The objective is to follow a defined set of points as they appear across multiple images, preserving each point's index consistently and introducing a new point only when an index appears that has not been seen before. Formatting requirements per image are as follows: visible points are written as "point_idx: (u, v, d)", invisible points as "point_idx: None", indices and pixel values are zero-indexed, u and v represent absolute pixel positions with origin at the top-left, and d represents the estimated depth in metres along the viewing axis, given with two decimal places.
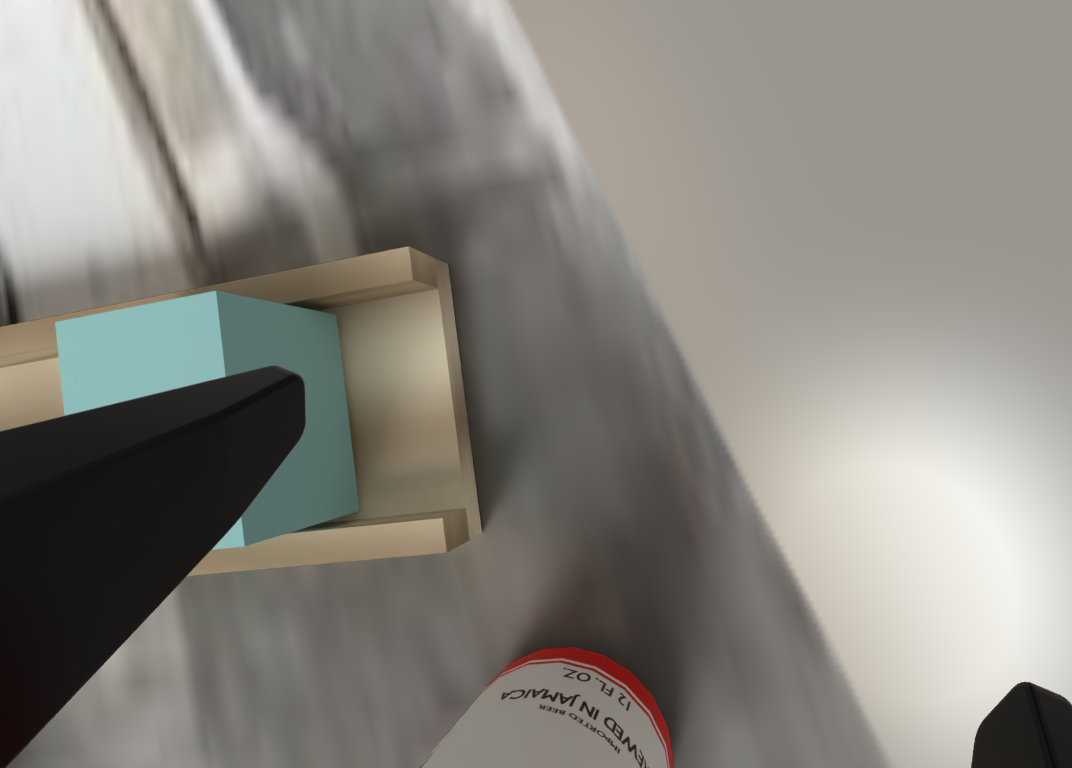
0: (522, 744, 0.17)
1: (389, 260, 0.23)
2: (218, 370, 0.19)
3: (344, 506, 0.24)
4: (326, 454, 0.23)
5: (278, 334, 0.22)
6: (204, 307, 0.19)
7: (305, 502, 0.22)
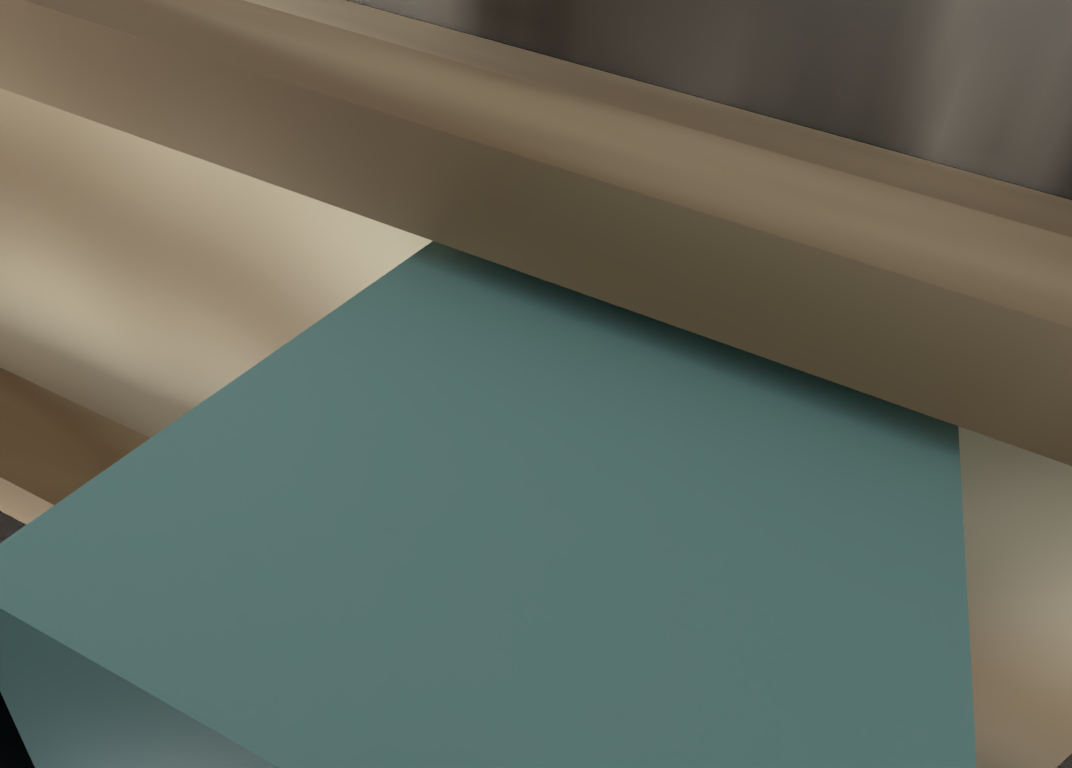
0: None
1: None
2: None
3: None
4: None
5: None
6: None
7: None
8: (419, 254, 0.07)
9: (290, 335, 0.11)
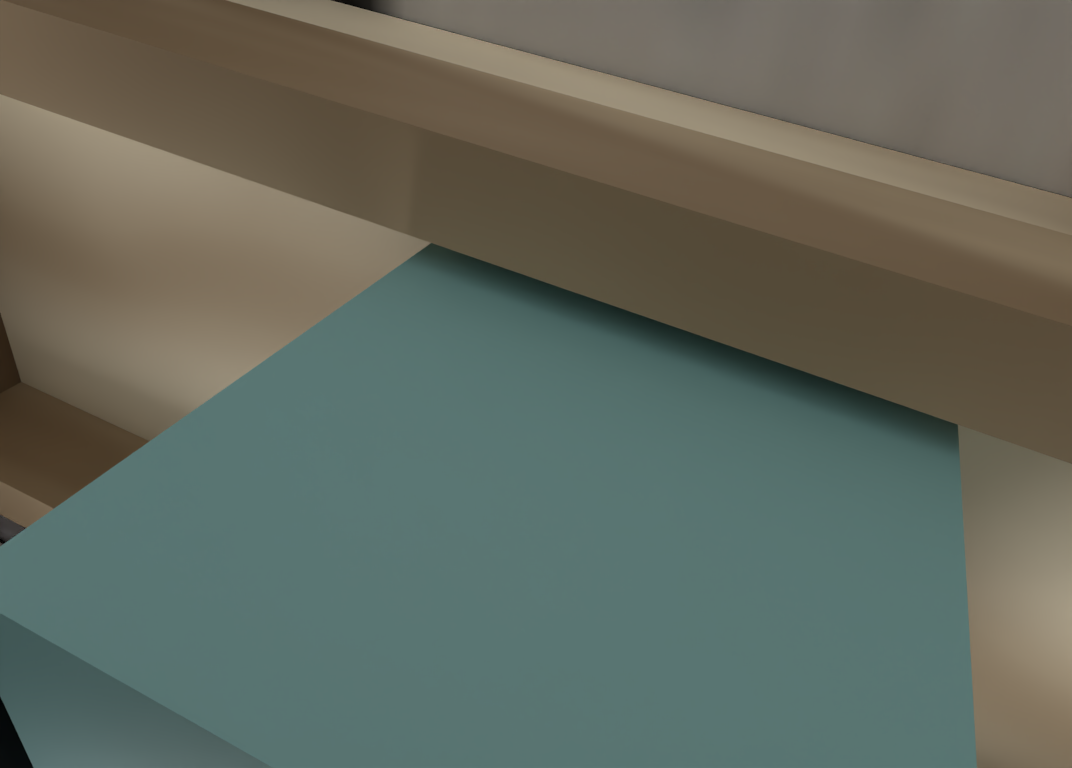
0: None
1: None
2: None
3: None
4: None
5: None
6: None
7: None
8: (417, 256, 0.07)
9: None
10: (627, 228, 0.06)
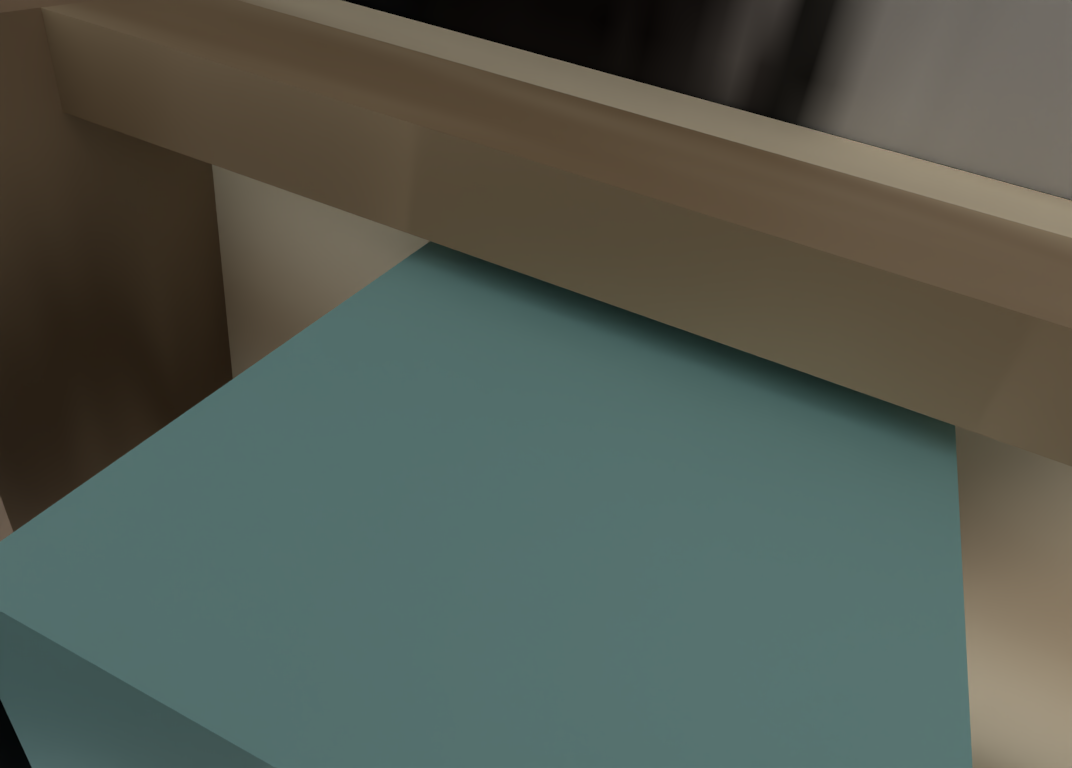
0: None
1: None
2: None
3: None
4: None
5: None
6: None
7: None
8: (417, 254, 0.07)
9: None
10: None
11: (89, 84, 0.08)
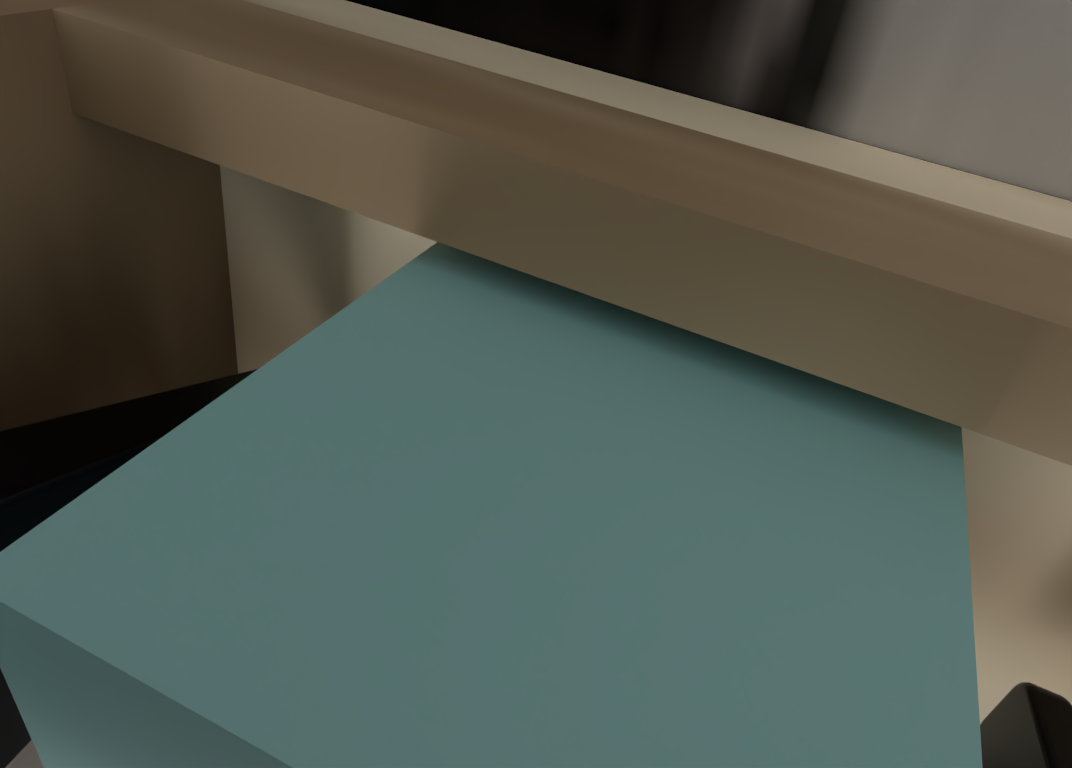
0: None
1: None
2: None
3: None
4: None
5: None
6: None
7: None
8: (424, 254, 0.07)
9: None
10: None
11: (100, 85, 0.08)
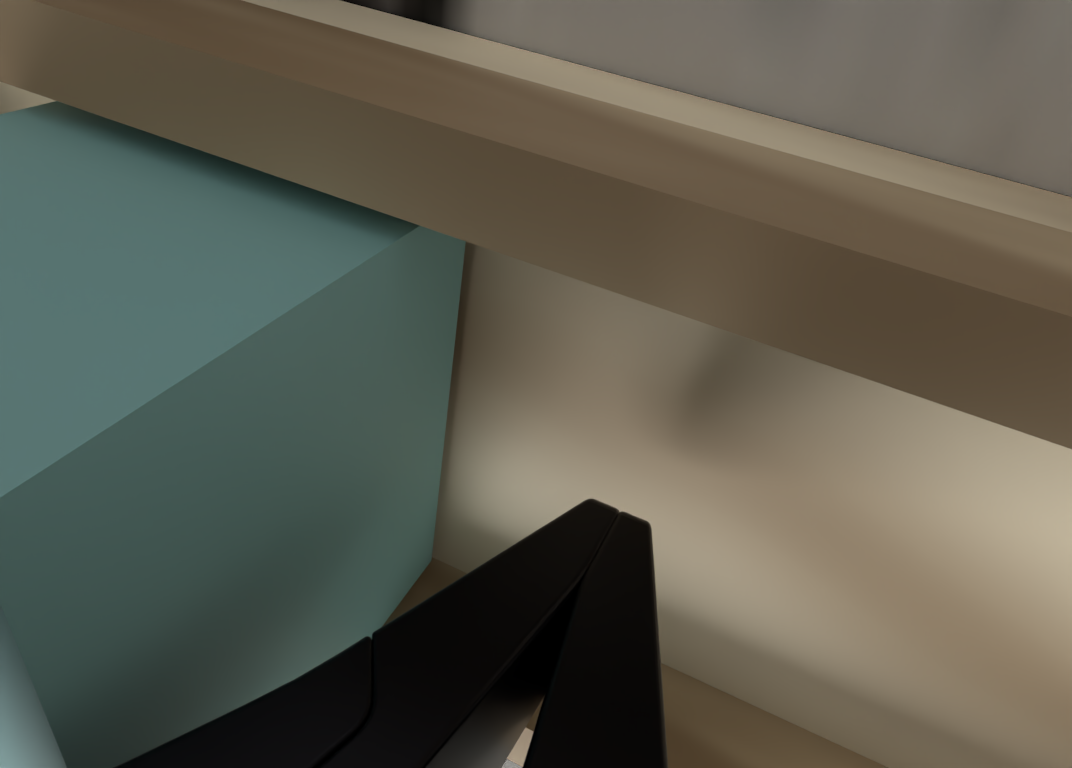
0: None
1: None
2: (28, 706, 0.05)
3: (401, 590, 0.12)
4: (380, 545, 0.10)
5: (278, 409, 0.07)
6: None
7: None
8: (36, 108, 0.09)
9: (826, 539, 0.10)
10: (732, 251, 0.06)
11: None
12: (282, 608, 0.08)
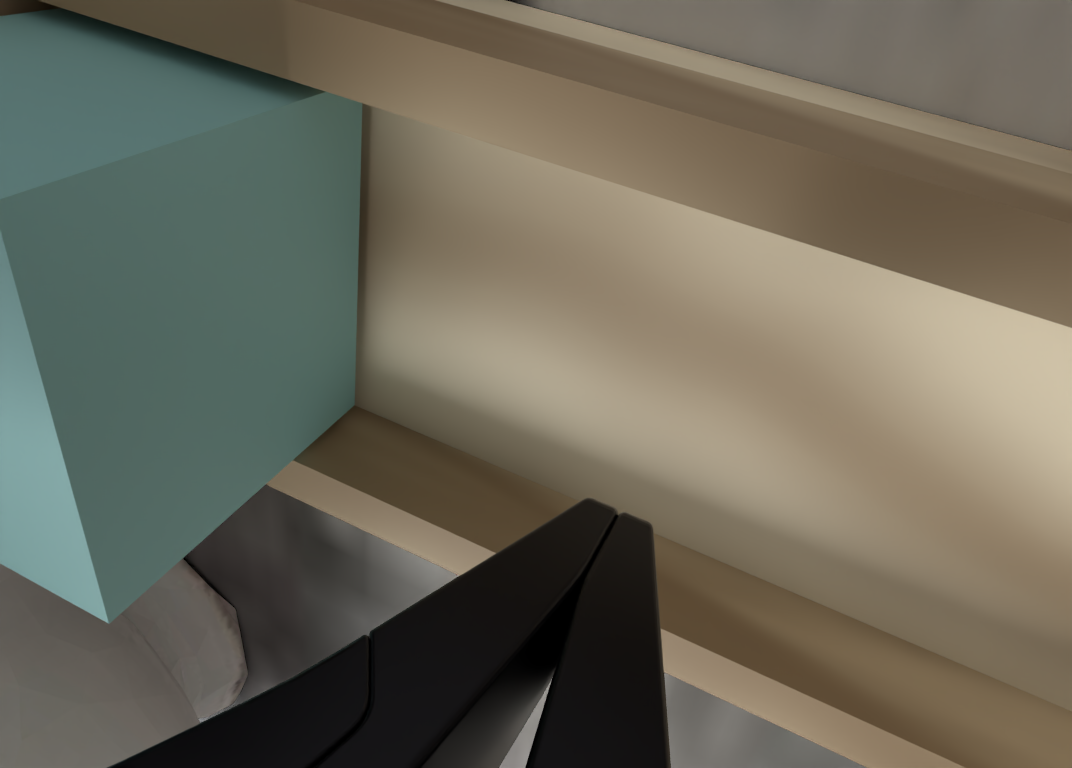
0: None
1: None
2: (27, 369, 0.08)
3: (325, 419, 0.15)
4: (301, 365, 0.13)
5: (204, 206, 0.10)
6: None
7: (247, 469, 0.13)
8: (33, 14, 0.12)
9: (824, 423, 0.12)
10: (758, 163, 0.08)
11: None
12: (215, 379, 0.11)
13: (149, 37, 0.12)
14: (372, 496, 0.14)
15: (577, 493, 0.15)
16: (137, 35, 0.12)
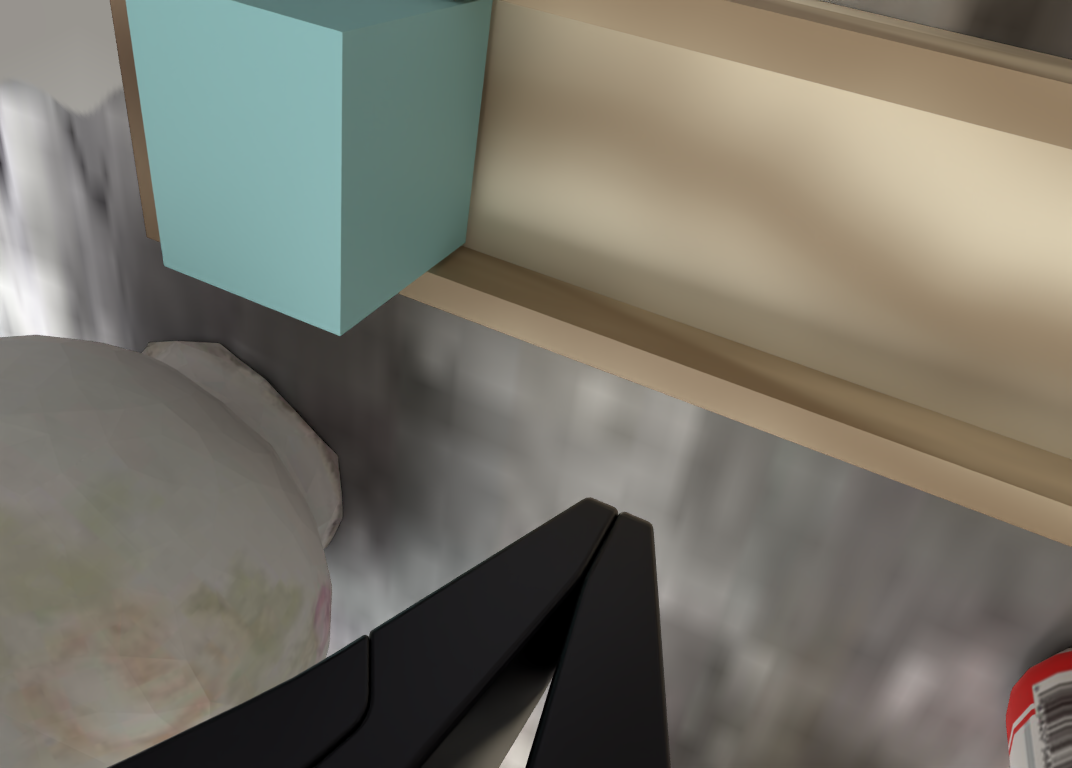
0: None
1: None
2: (333, 141, 0.15)
3: (449, 245, 0.21)
4: (443, 195, 0.19)
5: (414, 62, 0.16)
6: (324, 48, 0.14)
7: (409, 261, 0.19)
8: None
9: (793, 220, 0.18)
10: (747, 23, 0.15)
11: None
12: (404, 184, 0.17)
13: None
14: (485, 293, 0.20)
15: (625, 297, 0.21)
16: None
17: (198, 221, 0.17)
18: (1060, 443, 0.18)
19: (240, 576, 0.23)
